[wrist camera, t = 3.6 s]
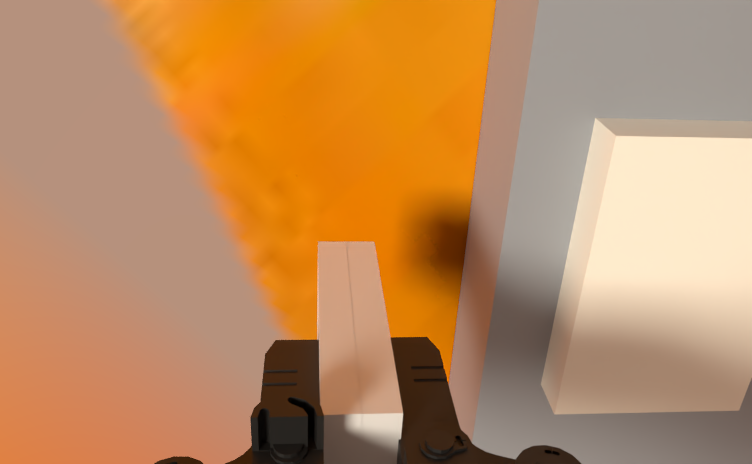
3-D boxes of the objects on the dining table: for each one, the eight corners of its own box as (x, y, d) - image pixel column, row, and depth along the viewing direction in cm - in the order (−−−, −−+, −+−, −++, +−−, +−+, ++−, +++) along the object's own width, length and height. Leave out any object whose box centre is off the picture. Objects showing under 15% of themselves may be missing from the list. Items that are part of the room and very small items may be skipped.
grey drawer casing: (506, -82, 19) (549, -72, 16) (960, -60, 20) (1094, -46, 17) (446, 406, 28) (465, 485, 24) (771, 400, 29) (834, 473, 25)
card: (595, 117, 18) (616, 135, 17) (808, 122, 18) (843, 139, 17) (540, 384, 22) (554, 414, 21) (716, 381, 23) (738, 410, 21)
